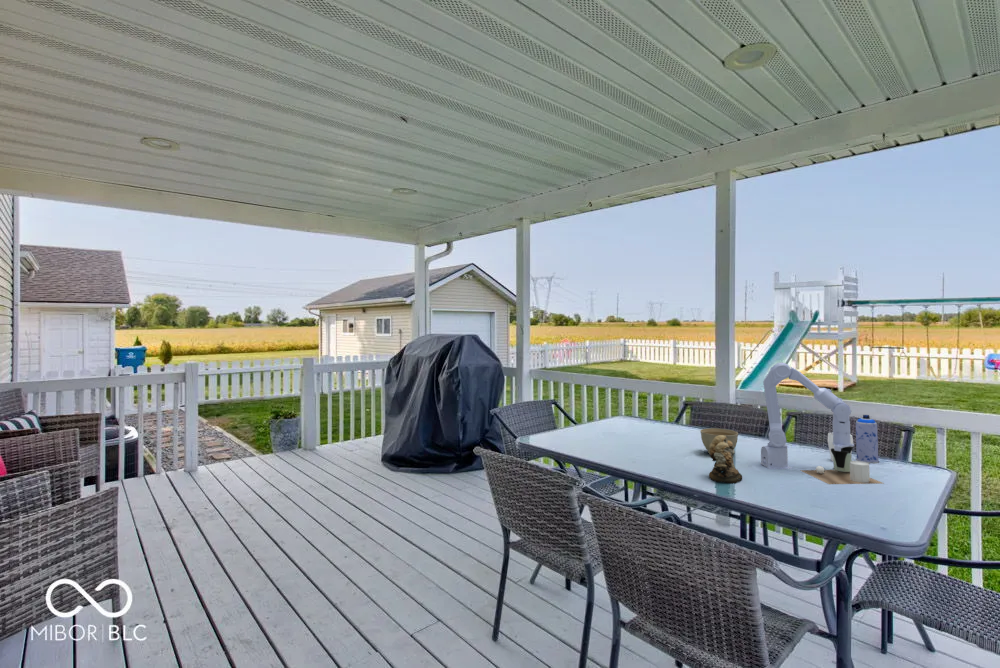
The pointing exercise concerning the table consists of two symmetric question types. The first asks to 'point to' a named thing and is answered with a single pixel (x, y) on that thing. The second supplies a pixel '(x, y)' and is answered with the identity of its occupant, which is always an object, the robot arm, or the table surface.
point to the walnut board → (836, 477)
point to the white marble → (820, 469)
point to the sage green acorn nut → (847, 464)
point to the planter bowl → (711, 433)
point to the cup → (830, 440)
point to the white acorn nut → (859, 471)
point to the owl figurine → (723, 461)
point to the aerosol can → (866, 440)
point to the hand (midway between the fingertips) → (842, 465)
